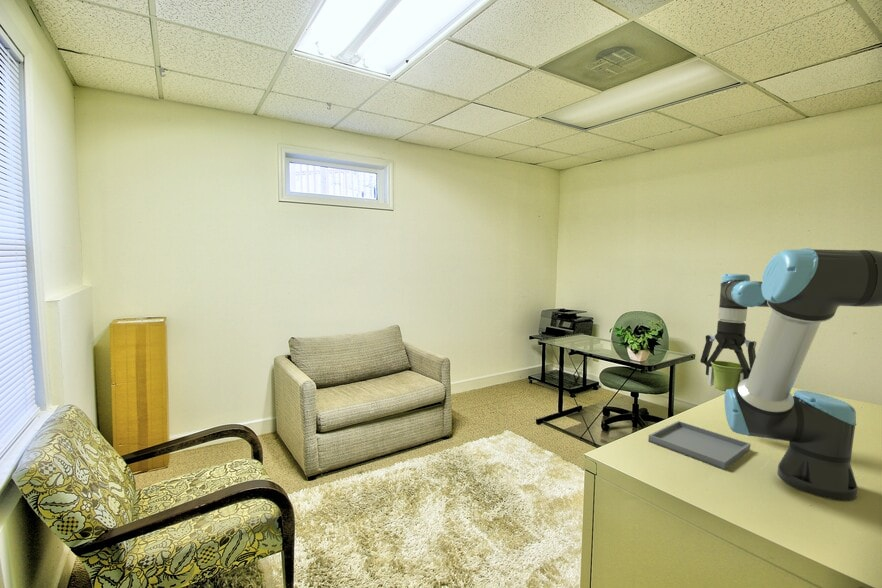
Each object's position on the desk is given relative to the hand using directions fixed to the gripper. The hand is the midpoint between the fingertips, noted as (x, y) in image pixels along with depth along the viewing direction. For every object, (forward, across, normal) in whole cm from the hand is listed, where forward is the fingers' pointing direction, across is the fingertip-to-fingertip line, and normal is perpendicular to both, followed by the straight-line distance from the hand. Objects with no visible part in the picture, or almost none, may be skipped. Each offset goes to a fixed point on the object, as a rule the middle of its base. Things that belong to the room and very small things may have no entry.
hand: (725, 388), depth 134 cm
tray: (+15, 0, +18) cm, 24 cm away
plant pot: (+1, 0, 0) cm, 1 cm away
